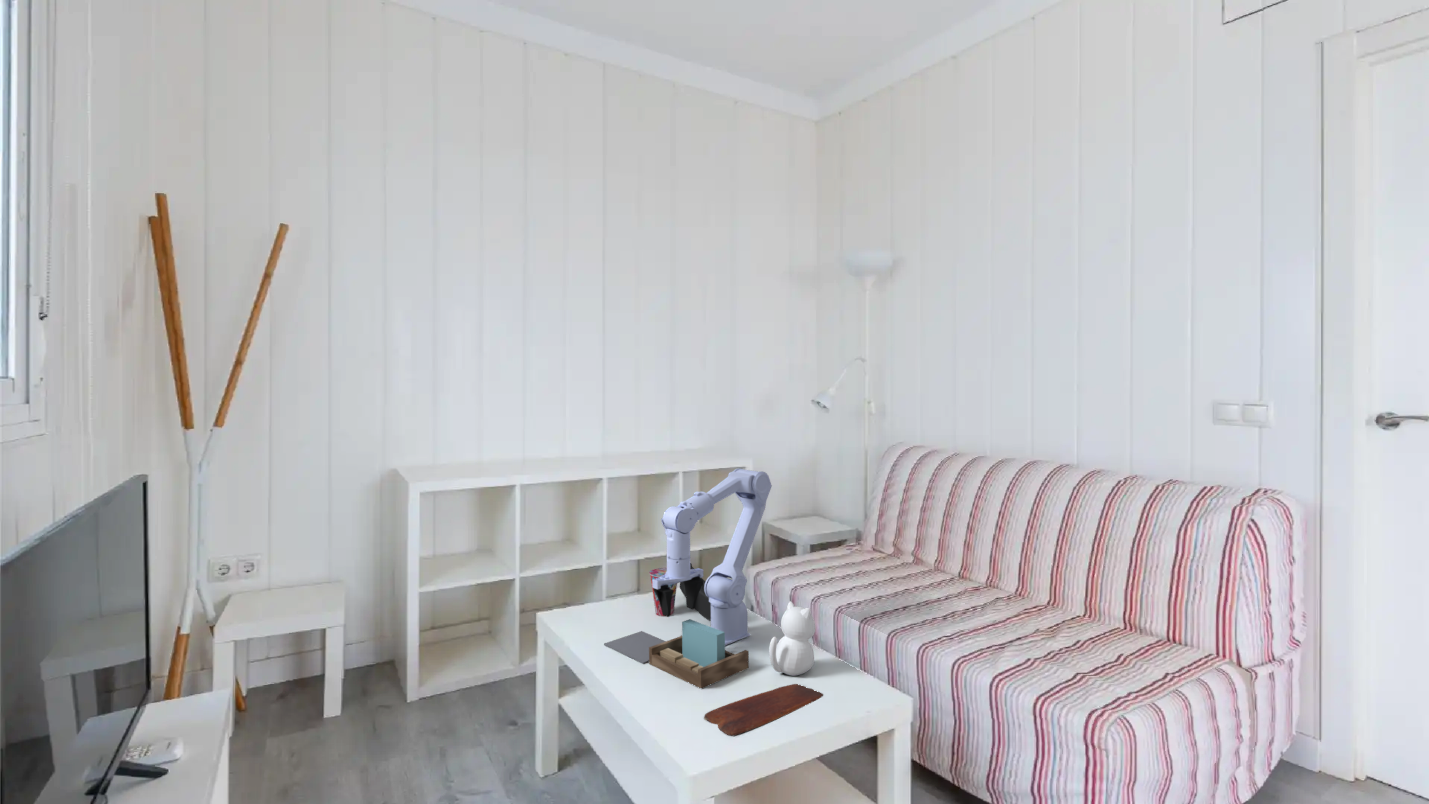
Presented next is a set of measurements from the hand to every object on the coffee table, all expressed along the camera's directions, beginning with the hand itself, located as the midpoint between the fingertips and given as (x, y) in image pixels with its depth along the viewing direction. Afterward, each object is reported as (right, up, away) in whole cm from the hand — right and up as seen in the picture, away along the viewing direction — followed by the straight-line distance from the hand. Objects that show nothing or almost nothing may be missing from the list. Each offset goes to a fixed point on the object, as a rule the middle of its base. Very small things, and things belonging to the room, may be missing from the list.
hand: (678, 612), depth 170 cm
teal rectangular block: (+6, -11, -5) cm, 13 cm away
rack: (+5, -11, -6) cm, 13 cm away
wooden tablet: (+19, -12, -26) cm, 35 cm away
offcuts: (+2, -11, -9) cm, 14 cm away
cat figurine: (+26, -11, -9) cm, 30 cm away
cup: (-5, -9, +29) cm, 31 cm away
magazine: (+5, -9, +31) cm, 33 cm away
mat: (-9, -10, +5) cm, 15 cm away
